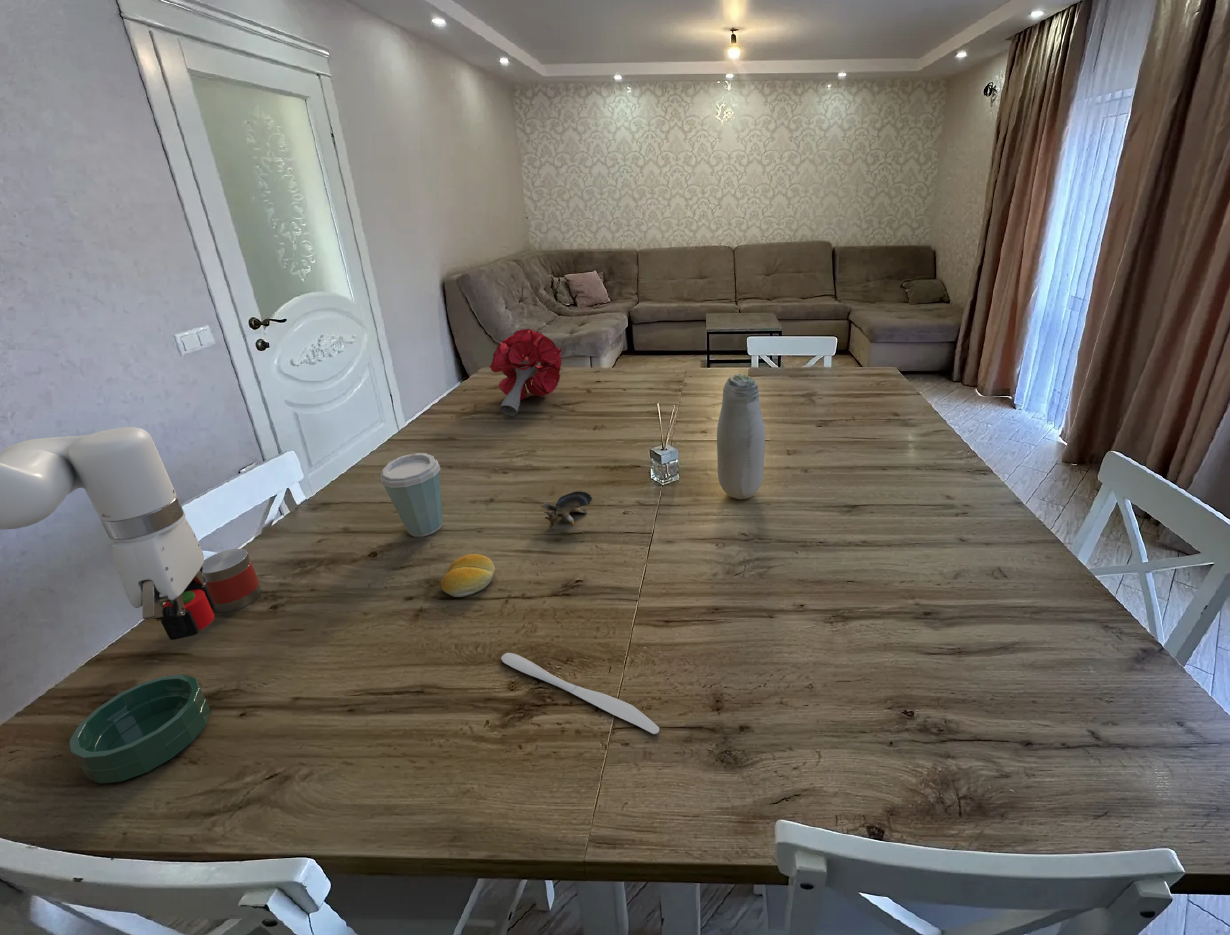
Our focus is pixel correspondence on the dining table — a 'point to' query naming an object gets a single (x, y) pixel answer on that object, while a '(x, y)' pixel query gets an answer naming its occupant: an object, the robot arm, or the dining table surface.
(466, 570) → the bread roll
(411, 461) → the disposable coffee cup
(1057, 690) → the dining table surface
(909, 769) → the dining table surface
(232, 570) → the can
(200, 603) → the red short cylinder
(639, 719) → the butter knife
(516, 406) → the bouquet
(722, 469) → the white bottle
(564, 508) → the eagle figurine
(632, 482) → the dining table surface
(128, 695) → the bowl
